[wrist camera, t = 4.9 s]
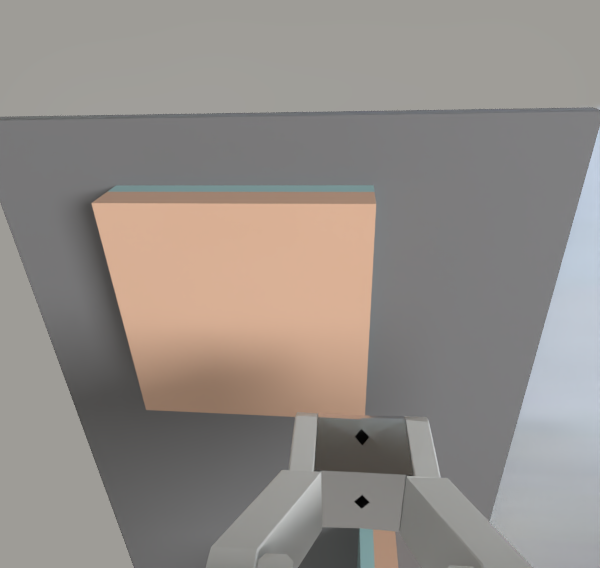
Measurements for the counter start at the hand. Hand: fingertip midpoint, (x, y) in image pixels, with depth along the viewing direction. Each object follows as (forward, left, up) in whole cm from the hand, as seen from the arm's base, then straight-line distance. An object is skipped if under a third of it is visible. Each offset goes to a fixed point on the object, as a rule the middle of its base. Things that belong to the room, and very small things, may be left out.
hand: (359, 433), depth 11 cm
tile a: (0, 0, -5) cm, 5 cm away
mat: (+3, +8, -6) cm, 11 cm away
